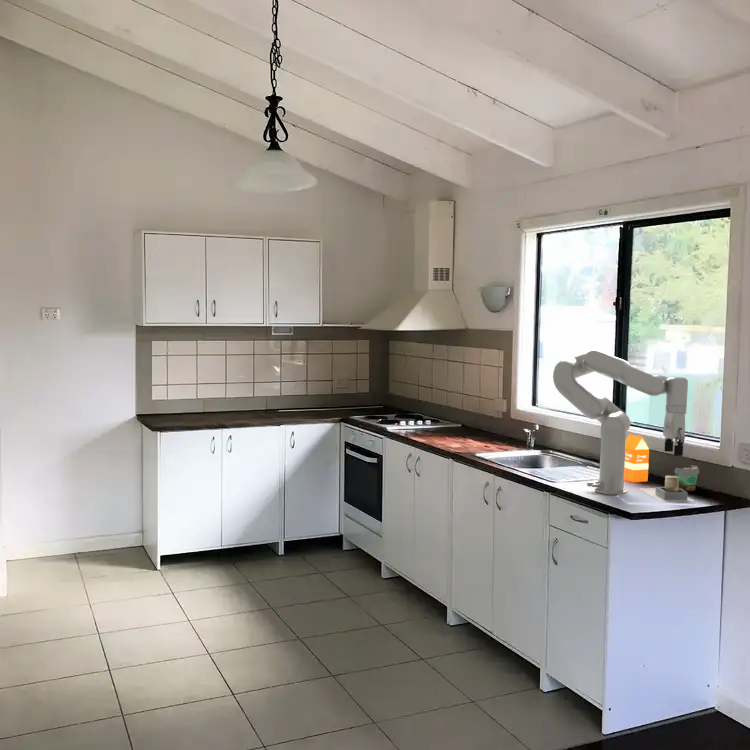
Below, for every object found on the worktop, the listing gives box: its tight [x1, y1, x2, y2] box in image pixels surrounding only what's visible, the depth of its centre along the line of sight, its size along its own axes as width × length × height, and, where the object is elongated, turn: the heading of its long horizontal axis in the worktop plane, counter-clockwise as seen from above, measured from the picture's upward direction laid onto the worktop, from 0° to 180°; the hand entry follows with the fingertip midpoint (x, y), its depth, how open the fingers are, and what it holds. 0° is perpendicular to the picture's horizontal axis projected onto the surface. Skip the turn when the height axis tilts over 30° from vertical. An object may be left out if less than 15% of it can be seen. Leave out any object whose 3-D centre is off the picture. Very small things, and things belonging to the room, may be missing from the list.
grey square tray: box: [655, 486, 689, 500], centre depth 321 cm, size 9×9×3 cm
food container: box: [673, 464, 700, 492], centre depth 335 cm, size 12×6×10 cm, turn 126°
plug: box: [664, 475, 679, 492], centre depth 320 cm, size 5×5×8 cm
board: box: [638, 487, 695, 502], centre depth 326 cm, size 14×22×1 cm, turn 2°
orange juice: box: [624, 433, 650, 483], centre depth 353 cm, size 8×9×20 cm
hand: (673, 453), depth 319 cm, fingers open, 8 cm apart
